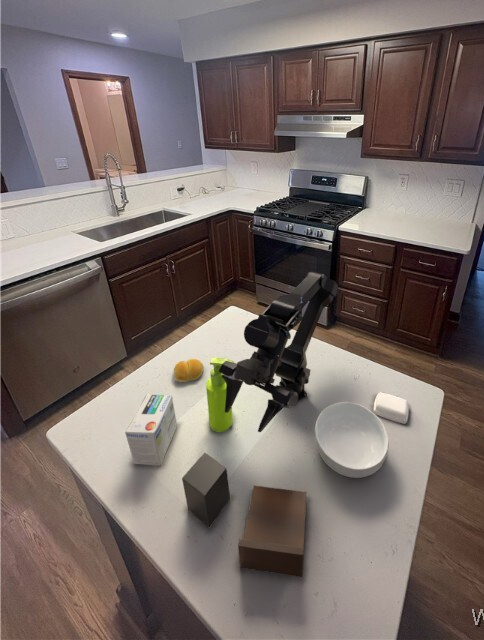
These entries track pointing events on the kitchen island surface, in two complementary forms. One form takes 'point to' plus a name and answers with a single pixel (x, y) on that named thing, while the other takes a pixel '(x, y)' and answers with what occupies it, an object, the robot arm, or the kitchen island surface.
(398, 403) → the soap
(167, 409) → the light bulb box
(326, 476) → the kitchen island surface
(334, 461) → the cereal bowl
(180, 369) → the bread roll
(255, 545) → the brown shallow tray
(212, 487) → the dark grey upright block
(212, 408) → the soap dispenser
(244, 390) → the kitchen island surface
